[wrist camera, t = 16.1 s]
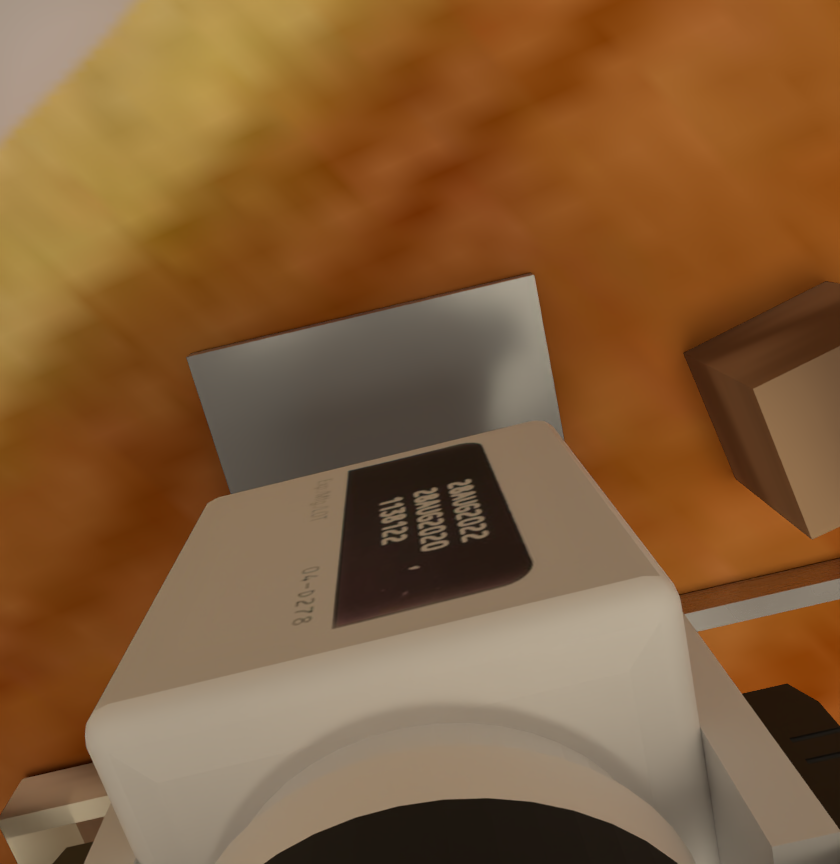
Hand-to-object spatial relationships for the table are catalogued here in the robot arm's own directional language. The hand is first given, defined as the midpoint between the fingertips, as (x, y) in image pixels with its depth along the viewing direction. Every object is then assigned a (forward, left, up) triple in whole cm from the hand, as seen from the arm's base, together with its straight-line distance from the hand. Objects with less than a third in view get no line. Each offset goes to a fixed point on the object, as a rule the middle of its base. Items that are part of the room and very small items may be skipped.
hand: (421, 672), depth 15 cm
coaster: (0, 0, -11) cm, 11 cm away
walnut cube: (+13, 0, -12) cm, 17 cm away
